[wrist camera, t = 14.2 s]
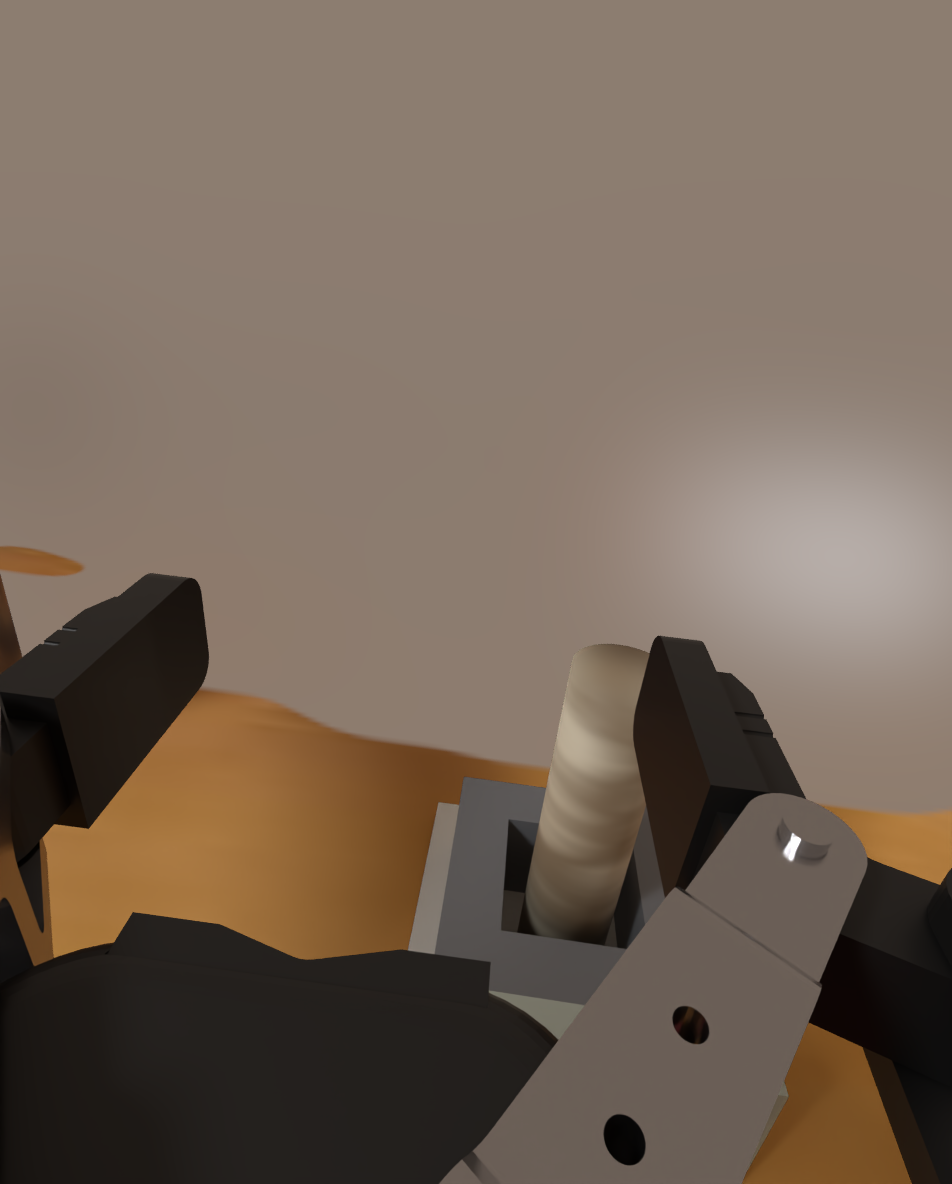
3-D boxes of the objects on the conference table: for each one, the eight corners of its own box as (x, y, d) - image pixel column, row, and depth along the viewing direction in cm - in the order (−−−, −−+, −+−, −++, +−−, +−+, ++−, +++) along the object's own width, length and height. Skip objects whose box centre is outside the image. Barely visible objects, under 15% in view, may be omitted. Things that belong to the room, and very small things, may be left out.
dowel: (513, 987, 29) (574, 695, 22) (515, 909, 32) (569, 637, 25) (601, 1001, 29) (691, 711, 22) (594, 921, 32) (670, 651, 25)
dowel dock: (374, 1122, 25) (377, 1031, 22) (437, 814, 39) (443, 736, 36) (740, 1183, 24) (788, 1096, 21) (668, 846, 38) (691, 770, 36)
